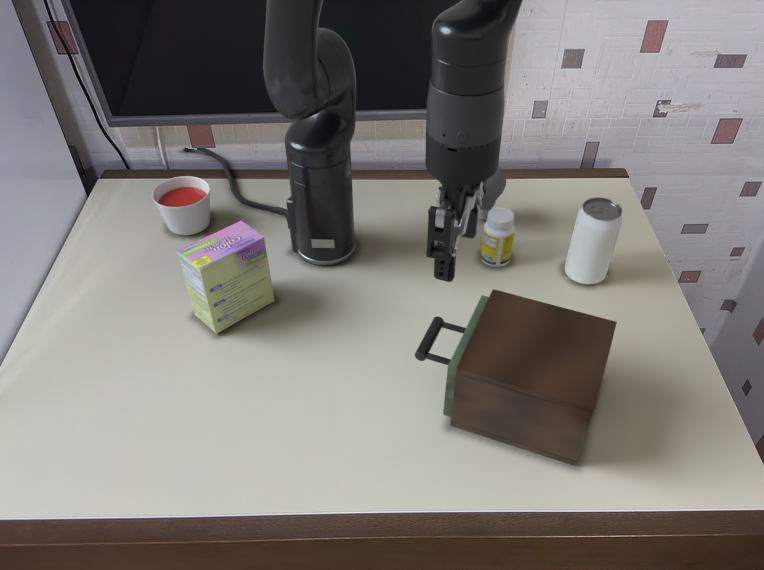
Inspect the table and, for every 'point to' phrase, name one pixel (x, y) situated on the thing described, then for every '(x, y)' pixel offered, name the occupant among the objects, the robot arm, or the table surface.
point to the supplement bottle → (498, 237)
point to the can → (593, 240)
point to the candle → (184, 204)
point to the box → (227, 275)
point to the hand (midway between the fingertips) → (455, 256)
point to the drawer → (452, 363)
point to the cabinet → (532, 375)
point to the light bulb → (492, 193)
